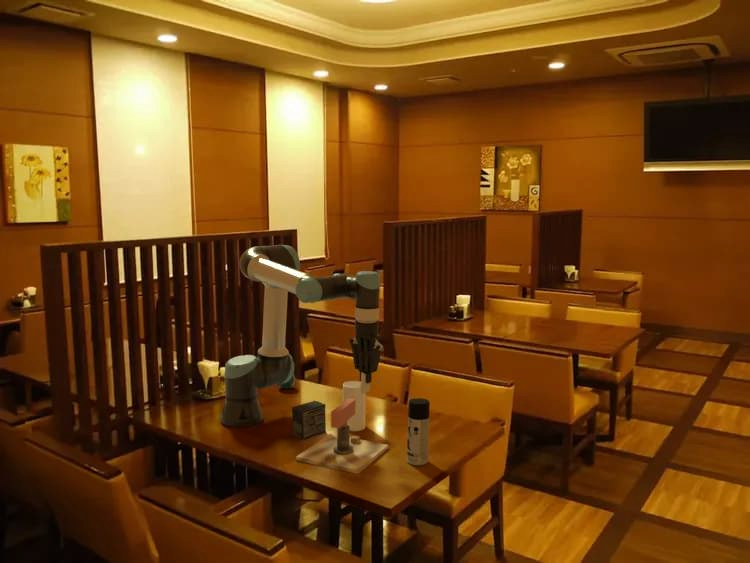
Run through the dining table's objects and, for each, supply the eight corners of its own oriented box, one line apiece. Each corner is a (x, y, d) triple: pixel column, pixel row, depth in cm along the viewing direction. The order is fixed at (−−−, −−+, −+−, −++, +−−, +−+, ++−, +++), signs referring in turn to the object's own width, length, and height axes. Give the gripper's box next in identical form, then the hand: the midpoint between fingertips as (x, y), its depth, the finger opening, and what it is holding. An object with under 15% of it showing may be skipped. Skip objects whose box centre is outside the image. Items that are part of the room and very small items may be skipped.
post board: (296, 460, 202) (296, 432, 201) (330, 436, 222) (330, 411, 220) (358, 474, 193) (358, 445, 191) (388, 448, 212) (388, 421, 211)
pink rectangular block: (338, 434, 199) (338, 412, 198) (331, 433, 200) (331, 411, 199) (355, 419, 212) (355, 399, 211) (348, 418, 213) (348, 398, 212)
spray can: (405, 457, 205) (406, 397, 202) (426, 457, 206) (427, 397, 203) (408, 466, 199) (409, 404, 196) (429, 465, 199) (431, 404, 196)
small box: (314, 427, 230) (315, 399, 229) (326, 432, 225) (326, 404, 224) (291, 435, 223) (291, 406, 221) (302, 440, 218) (302, 410, 217)
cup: (362, 432, 226) (362, 388, 224) (340, 430, 228) (340, 386, 226) (367, 424, 234) (367, 381, 232) (345, 422, 236) (345, 380, 234)
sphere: (273, 390, 272) (273, 372, 271) (279, 384, 280) (279, 367, 278) (292, 391, 270) (291, 373, 269) (297, 386, 278) (297, 368, 277)
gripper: (390, 321, 201) (388, 393, 204) (359, 315, 209) (357, 384, 212) (374, 325, 195) (372, 399, 198) (343, 318, 203) (342, 389, 207)
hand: (365, 391), depth 205 cm, fingers closed
